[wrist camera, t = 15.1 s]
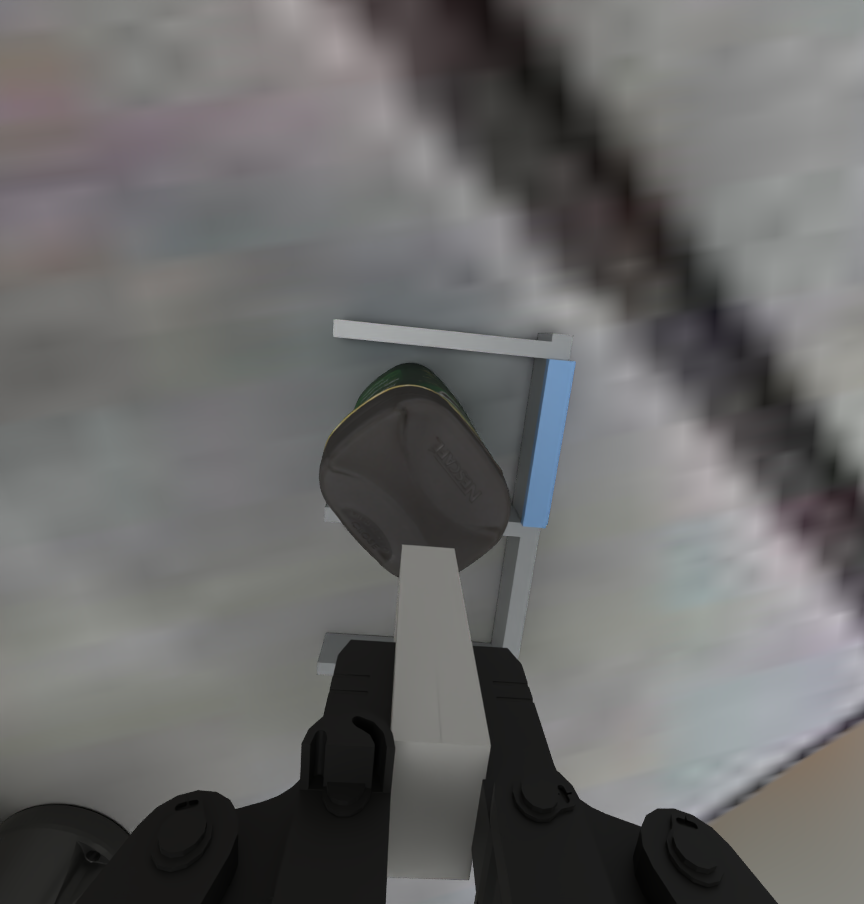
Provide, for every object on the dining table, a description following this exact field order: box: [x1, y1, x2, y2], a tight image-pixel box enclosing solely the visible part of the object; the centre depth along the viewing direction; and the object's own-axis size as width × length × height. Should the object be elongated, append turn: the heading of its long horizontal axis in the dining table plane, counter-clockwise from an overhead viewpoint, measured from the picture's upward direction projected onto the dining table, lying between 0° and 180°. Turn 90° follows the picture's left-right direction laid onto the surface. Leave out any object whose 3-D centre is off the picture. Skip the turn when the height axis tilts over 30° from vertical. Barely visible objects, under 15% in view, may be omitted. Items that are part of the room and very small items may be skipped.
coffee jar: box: [319, 363, 511, 577], centre depth 29 cm, size 10×8×19 cm
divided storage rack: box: [317, 319, 576, 675], centre depth 38 cm, size 18×30×5 cm, turn 174°
